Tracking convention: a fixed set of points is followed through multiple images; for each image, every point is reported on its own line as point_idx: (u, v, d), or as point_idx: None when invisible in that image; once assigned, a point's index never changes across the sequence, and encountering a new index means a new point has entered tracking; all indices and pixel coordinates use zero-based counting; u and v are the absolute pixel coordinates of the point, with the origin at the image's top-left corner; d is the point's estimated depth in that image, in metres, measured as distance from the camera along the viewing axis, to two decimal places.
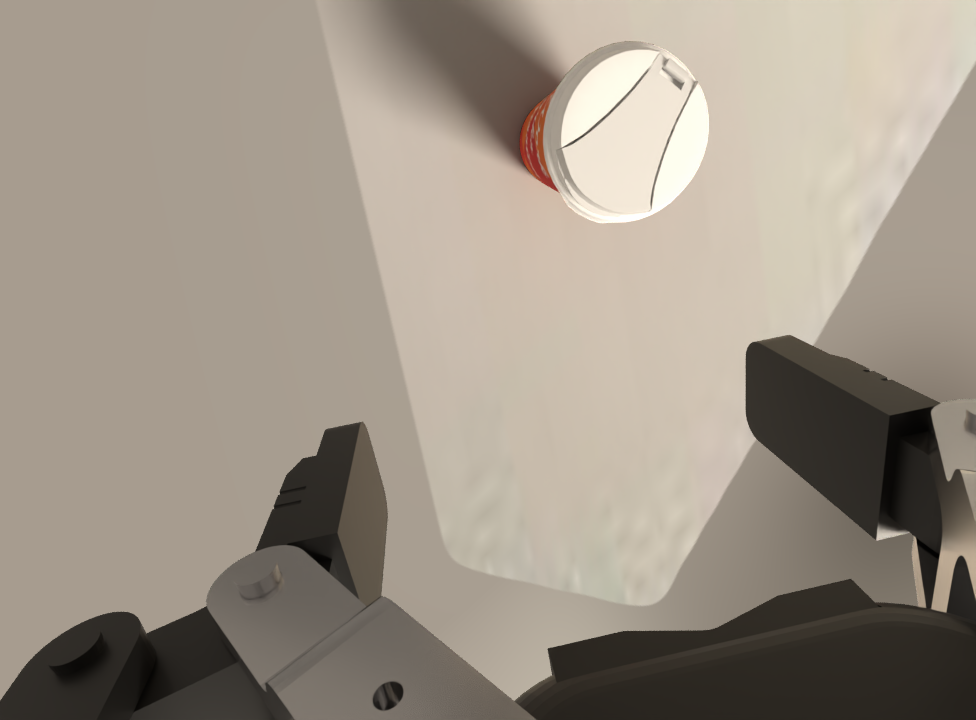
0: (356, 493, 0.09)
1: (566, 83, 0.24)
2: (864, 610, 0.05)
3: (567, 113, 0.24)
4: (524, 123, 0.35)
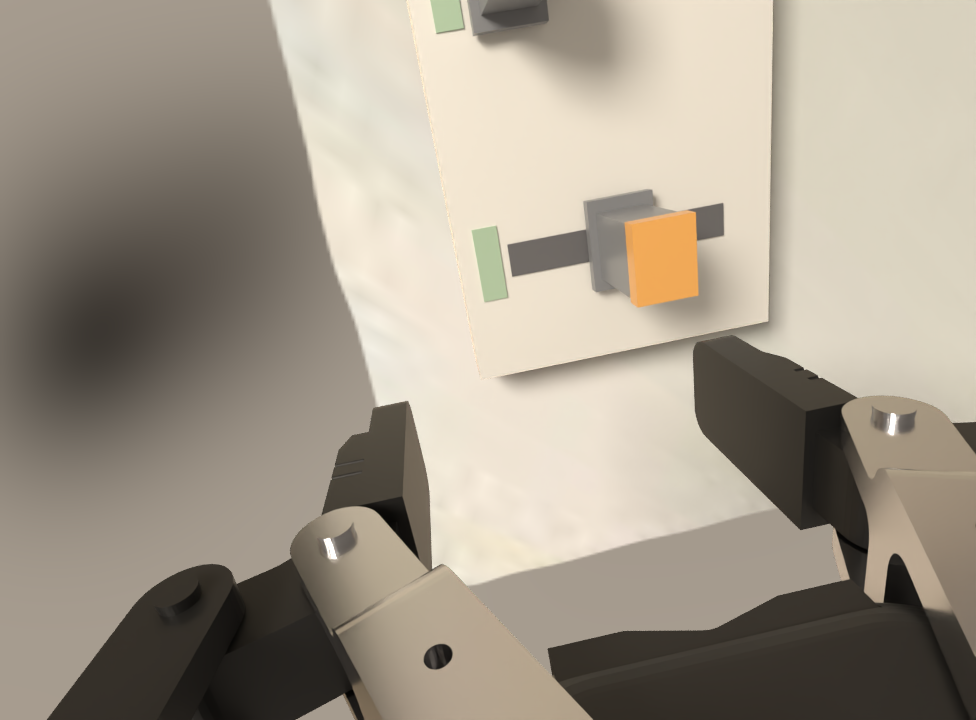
0: (410, 465, 0.10)
1: None
2: (864, 610, 0.05)
3: None
4: None
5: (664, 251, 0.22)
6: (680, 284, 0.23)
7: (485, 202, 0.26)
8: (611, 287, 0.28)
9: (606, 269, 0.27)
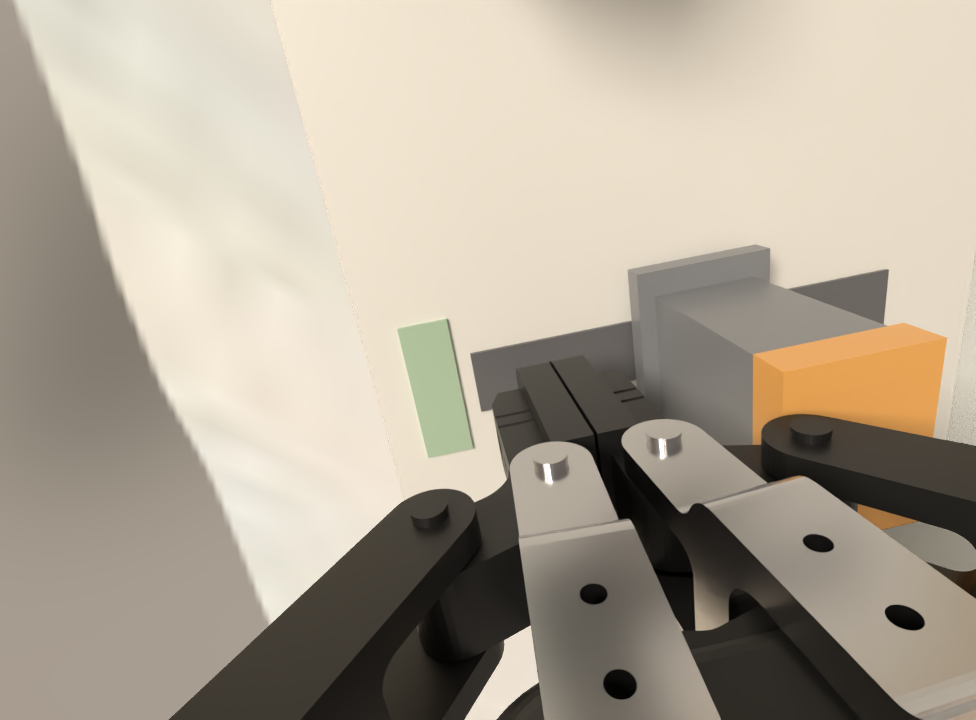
0: None
1: None
2: None
3: None
4: None
5: None
6: None
7: (424, 275, 0.13)
8: None
9: (675, 408, 0.13)
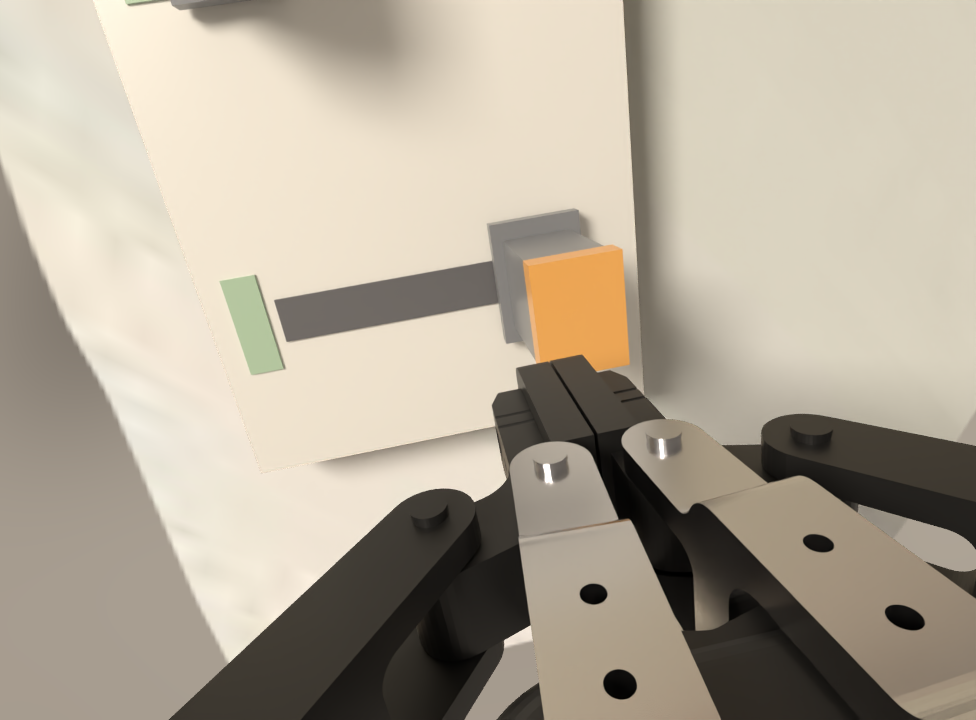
0: None
1: None
2: None
3: None
4: None
5: (578, 304, 0.15)
6: (603, 349, 0.16)
7: (235, 244, 0.19)
8: None
9: (516, 316, 0.20)
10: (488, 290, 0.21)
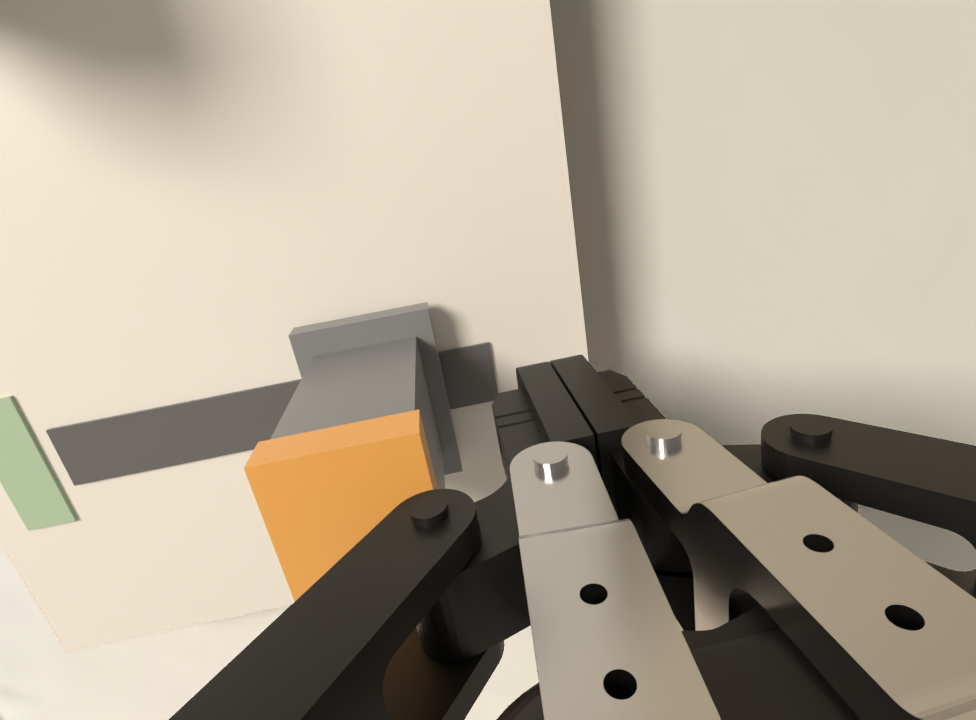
0: None
1: None
2: None
3: None
4: None
5: (351, 522, 0.09)
6: None
7: None
8: None
9: None
10: None
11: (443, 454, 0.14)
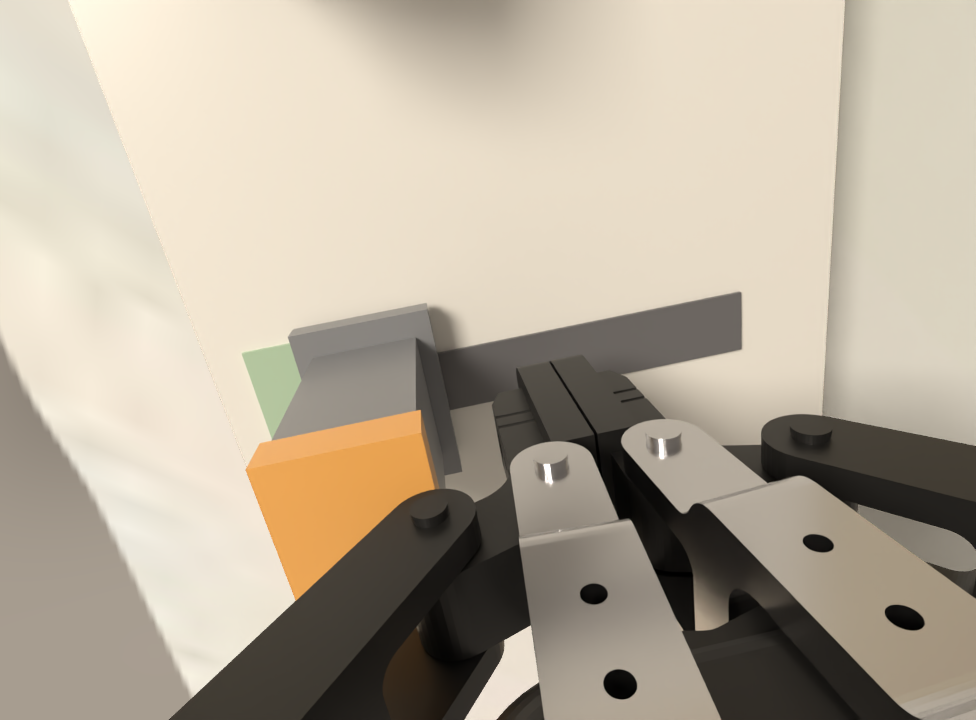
0: None
1: None
2: None
3: None
4: None
5: (352, 523, 0.09)
6: None
7: (265, 300, 0.13)
8: None
9: None
10: (620, 354, 0.15)
11: (443, 455, 0.14)
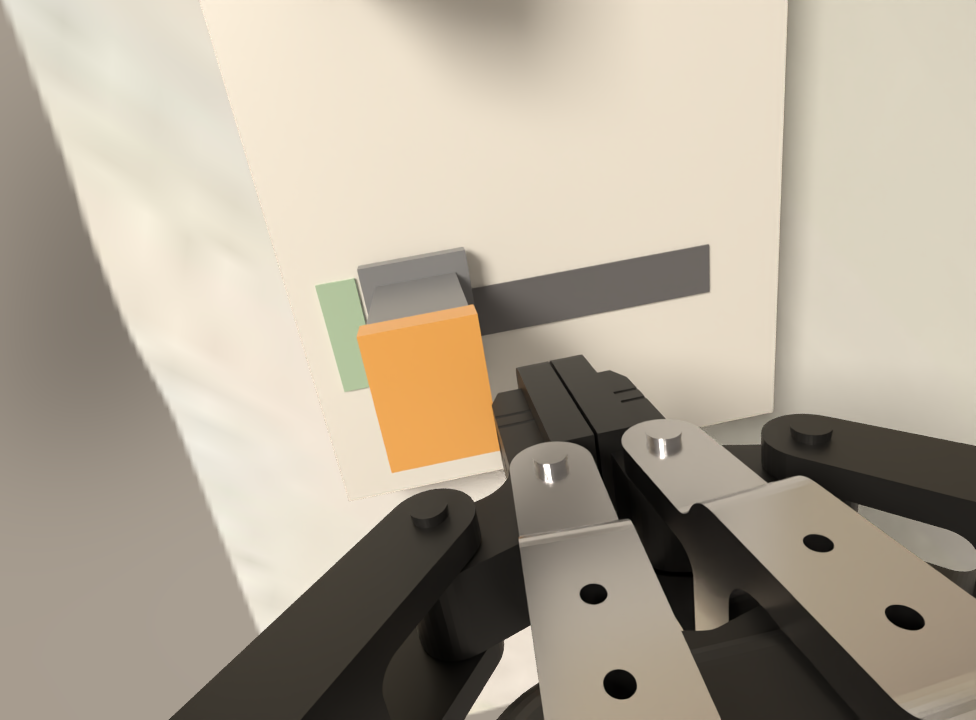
0: None
1: None
2: None
3: None
4: None
5: (426, 381, 0.12)
6: (465, 434, 0.13)
7: (335, 243, 0.17)
8: None
9: None
10: (613, 294, 0.18)
11: None
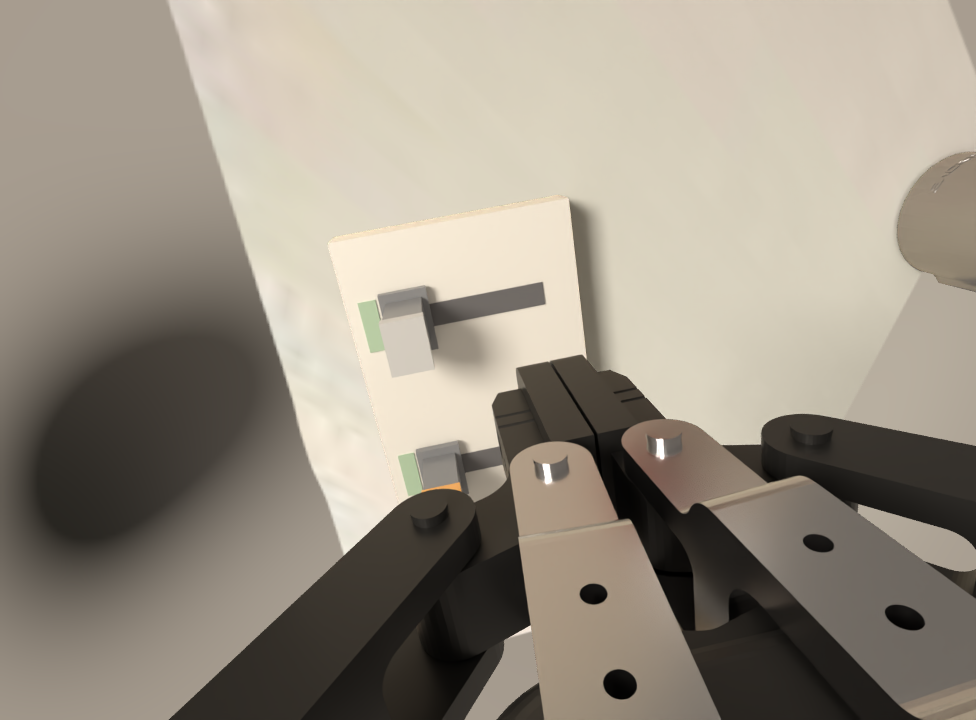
0: None
1: None
2: None
3: None
4: None
5: None
6: None
7: (406, 440, 0.41)
8: None
9: None
10: None
11: (462, 488, 0.42)
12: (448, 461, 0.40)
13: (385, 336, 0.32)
